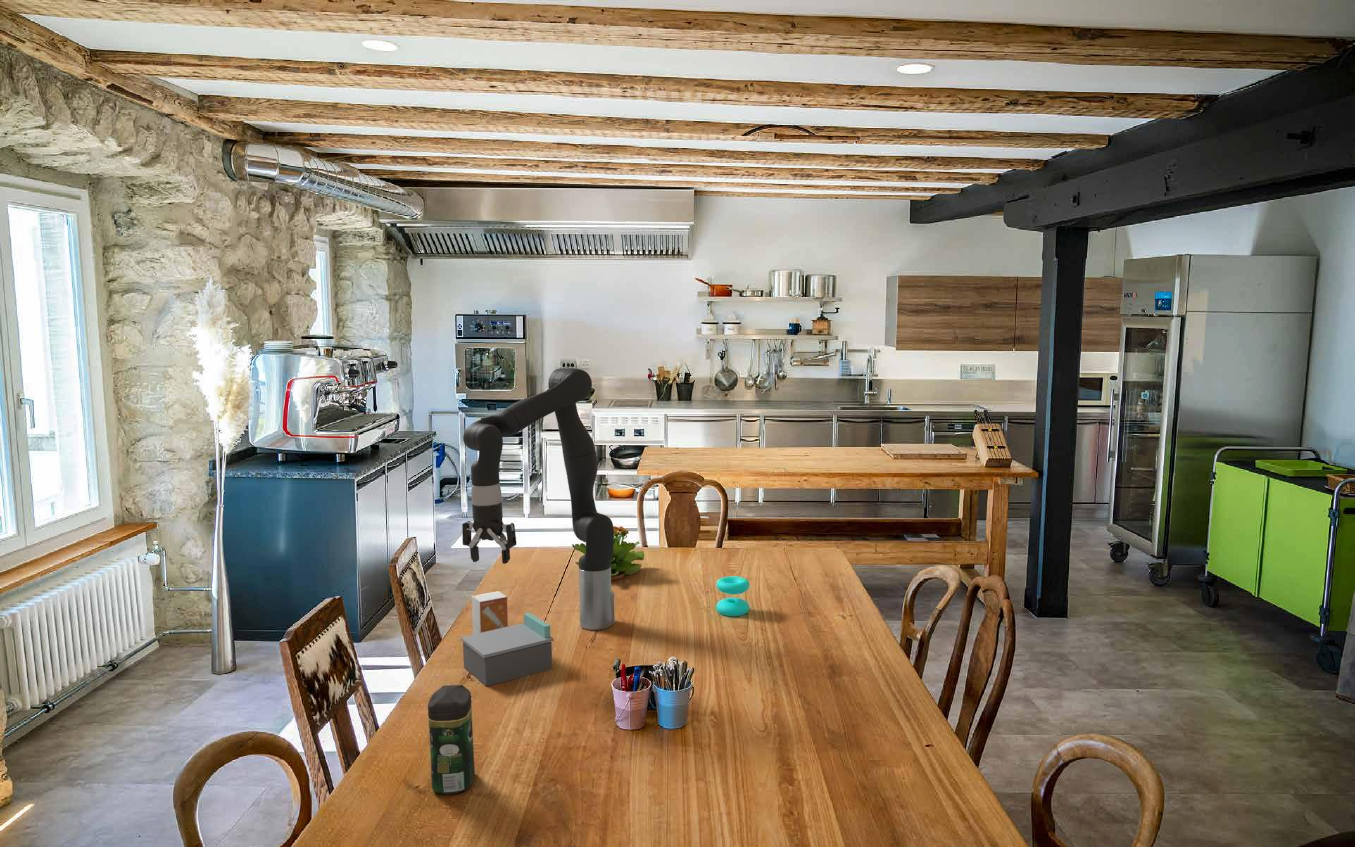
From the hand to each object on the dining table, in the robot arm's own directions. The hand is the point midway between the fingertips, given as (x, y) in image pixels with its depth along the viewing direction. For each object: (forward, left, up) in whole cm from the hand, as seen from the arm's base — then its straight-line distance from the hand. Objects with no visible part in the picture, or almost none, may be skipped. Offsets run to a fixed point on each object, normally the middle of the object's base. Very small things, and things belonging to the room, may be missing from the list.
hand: (490, 562), depth 227 cm
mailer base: (0, +8, -26) cm, 27 cm away
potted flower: (-61, -44, -26) cm, 80 cm away
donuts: (-73, +9, -26) cm, 79 cm away
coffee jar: (+32, +53, -26) cm, 67 cm away
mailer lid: (0, +8, -19) cm, 20 cm away
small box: (-4, -12, -26) cm, 29 cm away
